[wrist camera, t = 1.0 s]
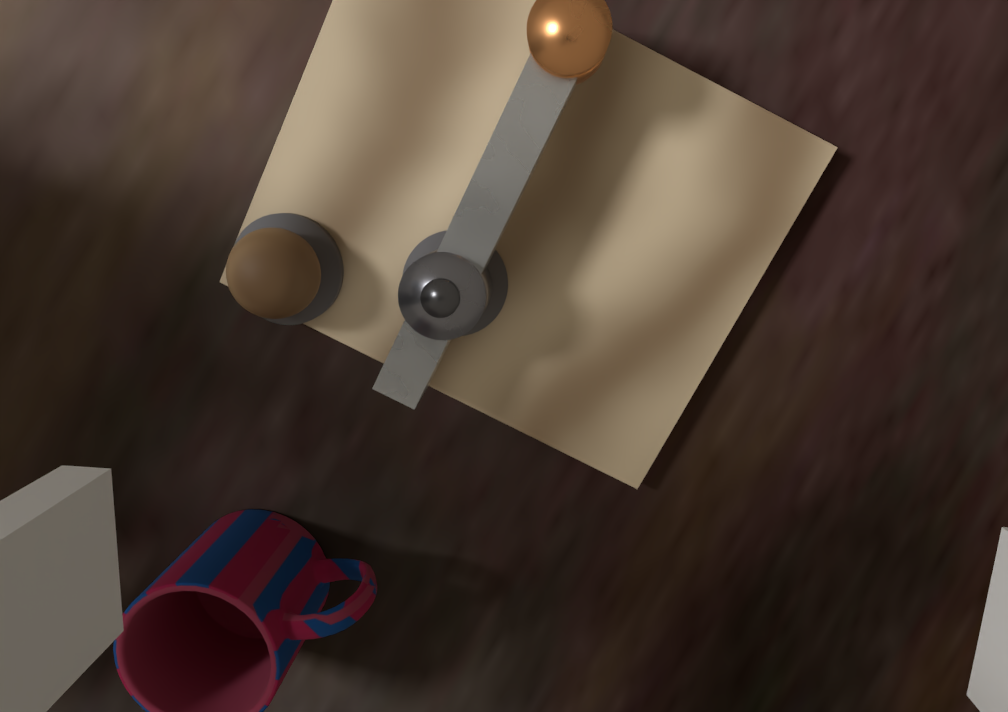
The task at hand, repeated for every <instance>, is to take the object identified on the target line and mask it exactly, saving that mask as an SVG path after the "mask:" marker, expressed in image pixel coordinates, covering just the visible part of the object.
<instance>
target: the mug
mask: <svg viewBox="0 0 1008 712" xmlns="http://www.w3.org/2000/svg"><path fill="white" fill-rule="evenodd" d="M338 580H357V581H361V584H360V586H359V588H358V589H357V591H356V592H355V593H354V594H353V595H352V596H350V597H349V598H348V599H347V600H346V601H344V602H342V603H341V604H339V605H337V606H335V607H333V608H331V609H328V610H326V611H322V612H321V610H322V608H323V606H324V605H325V602H326V600H327V597H328V594H329V587H330V582H333V581H338ZM376 595H377V582H376V577H375V573H374V571H373V570H372V568H371V566H370V565H369V564H367V563H366V562H364V561H360V560H355V559H326V557H325V555H324V553H323V551H322V549H321V547H320V546H319V544H318V543H317V541H316V540H315V538H314V537H313V536H312V535H311V534H310V533H309V532H308V531H307V530H306V529H305V528H303V527H302V526H301V525H300V524H298V523H297V522H295V521H294V520H292V519H290V518H288V517H286V516H284V515H281V514H278V513H276V512H272V511H267V510H259V509H248V510H241V511H236V512H233V513H230V514H227V515H225V516H223V517H221V518H220V519H218V520H216V521H215V522H214V523H213V524H211V525H210V526H209V527H208V528H207V529H206V530H205V531H204V532H203V533H202V534H201V535H200V536H199V537H198V538H197V539H196V540H195V541H194V542H193V543H192V544H191V545H190V546H189V547H188V548H187V549H186V550H185V551H184V552H183V553H181V554H180V555H179V556H178V557H177V558H176V559H175V560H174V561H173V562H172V563H171V564H170V565H169V566H168V567H167V568H166V569H165V570H164V571H163V572H162V573H161V574H160V575H159V576H158V577H157V578H156V579H155V580H154V581H153V582H152V583H151V584H150V585H149V586H148V587H147V588H146V589H145V590H144V591H143V592H142V593H141V594H140V595H139V596H138V597H137V598H136V599H135V600H134V601H133V602H132V603H131V604H130V605H129V606H128V608H127V609H126V610H125V611H124V613H123V614H122V616H123V629H124V631H123V632H122V633H121V634H120V635H119V636H118V637H117V638H116V639H115V640H114V645H113V652H114V660H115V665H116V668H117V671H118V674H119V677H120V679H121V681H122V683H123V685H124V686H125V688H126V690H127V691H128V692H129V694H130V695H131V696H132V698H133V699H134V700H135V701H136V702H137V703H138V704H139V705H140V706H141V707H142V708H143V709H144V710H145V711H146V712H263V711H264V710H265V709H266V708H267V707H268V706H269V704H270V702H271V701H272V699H273V697H274V696H275V694H276V692H277V690H278V688H279V686H280V685H281V683H282V681H283V679H284V677H285V676H286V674H287V672H288V670H289V668H290V666H291V665H292V663H293V661H294V659H295V657H296V656H297V654H298V652H299V650H300V648H301V646H302V645H303V643H304V641H305V639H316V638H322V637H326V636H330V635H333V634H336V633H338V632H341V631H343V630H345V629H347V628H348V627H350V626H351V625H353V624H354V623H355V622H356V621H358V620H359V619H360V618H361V617H362V616H363V615H364V614H365V613H366V612H367V610H368V609H369V608H370V606H371V605H372V603H373V602H374V600H375V597H376Z"/></svg>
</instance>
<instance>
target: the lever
mask: <svg viewBox="0 0 1008 712" xmlns="http://www.w3.org/2000/svg"><path fill="white" fill-rule="evenodd" d="M611 36H612V18H611V13H610V11H609V8H608V6H607V4H606V2H605V1H604V0H536V1H535V3H534V4H533V6H532V8H531V10H530V13H529V16H528V20H527V40H528V46H529V51H530V55H529V58H528V60H527V62H526V64H525V66H524V68H523V70H522V72H521V75H520V77H519V79H518V81H517V83H516V85H515V87H514V89H513V91H512V94H511V96H510V98H509V100H508V102H507V104H506V106H505V108H504V111H503V113H502V115H501V117H500V119H499V121H498V123H497V125H496V127H495V130H494V132H493V134H492V136H491V138H490V140H489V142H488V144H487V147H486V149H485V151H484V153H483V155H482V157H481V159H480V161H479V163H478V166H477V168H476V170H475V172H474V174H473V176H472V178H471V180H470V183H469V185H468V187H467V189H466V191H465V193H464V195H463V197H462V200H461V202H460V204H459V206H458V208H457V210H456V212H455V214H454V216H453V219H452V221H451V223H450V225H449V227H448V229H447V231H446V233H445V236H444V238H443V240H442V242H441V244H440V246H439V248H438V249H436V250H434V251H432V252H430V253H429V254H427V255H425V256H423V257H421V258H419V259H418V260H416V261H415V262H413V263H412V264H411V265H410V266H409V267H408V268H407V270H406V271H405V272H404V274H403V276H402V278H401V281H400V284H399V288H398V303H399V307H400V311H401V313H402V315H403V317H404V319H405V320H404V322H403V325H402V327H401V329H400V331H399V333H398V335H397V337H396V339H395V341H394V344H393V346H392V348H391V350H390V352H389V354H388V356H387V358H386V361H385V363H384V365H383V367H382V369H381V371H380V373H379V375H378V377H377V380H376V382H375V384H374V386H373V388H372V389H374V390H376V391H378V392H380V393H382V394H384V395H386V396H388V397H390V398H392V399H394V400H396V401H398V402H400V403H402V404H404V405H406V406H408V407H410V408H412V409H415V408H416V406H417V405H418V403H419V401H420V400H421V398H422V397H423V395H424V393H425V392H426V390H427V388H428V386H429V383H430V381H431V379H432V377H433V375H434V373H435V371H436V369H437V367H438V365H439V363H440V361H441V359H442V357H443V355H444V353H445V351H446V349H447V347H448V345H449V343H450V341H451V339H455V338H458V337H461V336H463V335H464V334H466V333H467V332H469V331H470V330H471V329H472V328H473V327H474V326H475V325H476V324H477V322H478V321H479V319H480V317H481V316H482V314H483V312H484V310H485V308H486V307H487V305H488V303H489V301H490V298H491V295H492V277H491V273H490V271H489V268H488V266H487V265H488V263H489V261H490V259H491V257H492V255H493V253H494V251H495V249H496V247H497V245H498V243H499V241H500V239H501V237H502V235H503V233H504V231H505V229H506V227H507V225H508V223H509V221H510V219H511V217H512V215H513V212H514V210H515V208H516V206H517V204H518V202H519V200H520V198H521V196H522V194H523V192H524V190H525V188H526V186H527V184H528V182H529V180H530V178H531V176H532V174H533V172H534V170H535V168H536V166H537V164H538V162H539V160H540V158H541V155H542V153H543V151H544V149H545V147H546V145H547V143H548V141H549V139H550V137H551V135H552V133H553V131H554V129H555V127H556V125H557V123H558V121H559V119H560V117H561V115H562V113H563V111H564V109H565V107H566V105H567V103H568V101H569V98H570V96H571V94H572V92H573V90H574V88H575V86H576V84H580V83H582V82H584V81H586V80H587V79H589V78H590V77H591V76H592V75H593V74H594V73H595V72H596V71H597V70H598V68H599V67H600V65H601V63H602V61H603V59H604V56H605V54H606V51H607V49H608V46H609V43H610V40H611Z"/></svg>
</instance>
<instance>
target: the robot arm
mask: <svg viewBox="0 0 1008 712" xmlns="http://www.w3.org/2000/svg"><path fill="white" fill-rule="evenodd" d="M123 631H124V629H123V616H122V603H121V590H120V577H119V564H118V551H117V538H116V525H115V512H114V499H113V486H112V473H111V469H110V468H95V467H80V466H65V465H62V466H60V467H58V468H57V469H55V470H53V471H51V472H50V473H48V474H46V475H44V476H43V477H41V478H39V479H37V480H36V481H34V482H32V483H30V484H29V485H27V486H25V487H24V488H22V489H20V490H18V491H17V492H15V493H13V494H11V495H10V496H8V497H6V498H4V499H3V500H1V501H0V712H46V711H47V710H48V709H49V708H50V707H51V706H52V705H53V704H54V703H55V702H56V701H57V700H58V699H59V698H60V697H61V696H62V695H63V694H64V693H65V691H66V690H67V689H68V688H69V687H70V686H71V685H72V684H73V683H74V682H75V681H76V680H77V679H78V678H79V677H80V676H81V675H82V674H83V673H84V672H85V671H86V670H87V668H88V667H89V666H90V665H91V664H92V663H93V662H94V661H95V660H96V659H97V658H98V657H99V656H100V655H101V654H102V653H103V652H104V651H105V650H106V649H107V648H108V647H109V645H110V644H111V643H112V642H113V641H114V640H115V639H116V638H117V637H118V636H119V635H120V634H121V633H122V632H123ZM967 696H968V697H969V698H970V700H971V701H972V702H973V703H974V705H975V706H976V707H977V708H978V709H979V711H980V712H1008V528H1007V527H1002V529H1001V534H1000V539H999V543H998V548H997V553H996V558H995V563H994V567H993V572H992V577H991V582H990V586H989V591H988V596H987V601H986V605H985V610H984V615H983V620H982V624H981V629H980V634H979V639H978V643H977V648H976V653H975V658H974V663H973V667H972V672H971V677H970V682H969V686H968V691H967Z"/></svg>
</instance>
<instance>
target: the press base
mask: <svg viewBox="0 0 1008 712" xmlns="http://www.w3.org/2000/svg"><path fill="white" fill-rule="evenodd" d="M535 1H536V0H333V1H332V4H331V6H330V9H329V11H328V14H327V16H326V19H325V21H324V24H323V26H322V29H321V31H320V34H319V36H318V39H317V41H316V44H315V46H314V49H313V51H312V54H311V56H310V58H309V61H308V63H307V66H306V68H305V71H304V73H303V76H302V78H301V81H300V83H299V86H298V88H297V91H296V93H295V96H294V98H293V101H292V103H291V106H290V108H289V111H288V113H287V116H286V118H285V120H284V123H283V125H282V128H281V130H280V133H279V135H278V138H277V140H276V143H275V145H274V148H273V150H272V153H271V155H270V158H269V160H268V163H267V165H266V168H265V170H264V173H263V175H262V177H261V180H260V182H259V185H258V187H257V190H256V192H255V195H254V197H253V200H252V202H251V205H250V207H249V210H248V212H247V215H246V217H245V220H244V222H243V225H242V227H241V230H240V232H239V235H238V237H237V239H236V242H235V244H234V247H233V249H232V250H231V252H230V255H229V257H228V260H227V264H226V267H225V269H224V272H223V274H222V277H221V279H220V283H222V284H224V285H226V286H228V287H229V289H230V291H231V293H232V295H233V297H234V298H235V300H236V301H237V302H238V303H239V304H240V305H241V306H242V307H243V308H244V309H246V310H247V311H249V312H251V313H252V314H255V315H257V316H259V317H261V318H263V319H265V320H267V321H269V322H272V323H276V324H281V325H297V324H302V323H303V324H305V325H307V326H309V327H311V328H313V329H315V330H317V331H319V332H321V333H323V334H325V335H327V336H329V337H331V338H333V339H335V340H337V341H339V342H341V343H343V344H345V345H347V346H349V347H351V348H353V349H355V350H357V351H359V352H362V353H364V354H366V355H368V356H370V357H372V358H374V359H376V360H378V361H380V362H382V363H385V361H386V358H387V356H388V354H389V352H390V350H391V348H392V346H393V344H394V341H395V339H396V337H397V335H398V333H399V331H400V329H401V327H402V325H403V322H404V320H405V319H404V317H403V315H402V313H401V311H400V307H399V303H398V288H399V284H400V281H401V278H402V276H403V274H404V272H405V271H406V270H407V268H408V267H409V266H410V265H411V264H412V263H413V262H415V261H416V260H418V259H419V258H421V257H423V256H425V255H427V254H429V253H430V252H432V251H434V250H436V249H438V248H439V246H440V244H441V242H442V240H443V238H444V236H445V233H446V231H447V229H448V227H449V225H450V223H451V221H452V219H453V216H454V214H455V212H456V210H457V208H458V206H459V204H460V202H461V200H462V197H463V195H464V193H465V191H466V189H467V187H468V185H469V183H470V180H471V178H472V176H473V174H474V172H475V170H476V168H477V166H478V163H479V161H480V159H481V157H482V155H483V153H484V151H485V149H486V147H487V144H488V142H489V140H490V138H491V136H492V134H493V132H494V130H495V127H496V125H497V123H498V121H499V119H500V117H501V115H502V113H503V111H504V108H505V106H506V104H507V102H508V100H509V98H510V96H511V94H512V91H513V89H514V87H515V85H516V83H517V81H518V79H519V77H520V75H521V72H522V70H523V68H524V66H525V64H526V62H527V60H528V58H529V55H530V51H529V46H528V40H527V20H528V16H529V13H530V10H531V8H532V6H533V4H534V3H535ZM837 148H838V147H836V146H834V145H832V144H830V143H828V142H826V141H824V140H823V139H821V138H819V137H817V136H815V135H813V134H811V133H809V132H807V131H805V130H803V129H802V128H800V127H798V126H796V125H794V124H792V123H790V122H788V121H786V120H784V119H782V118H781V117H779V116H777V115H775V114H773V113H771V112H769V111H767V110H765V109H763V108H761V107H760V106H758V105H756V104H754V103H752V102H750V101H748V100H746V99H744V98H742V97H741V96H739V95H737V94H735V93H733V92H731V91H729V90H727V89H725V88H723V87H721V86H720V85H718V84H716V83H714V82H712V81H710V80H708V79H706V78H704V77H702V76H700V75H699V74H697V73H695V72H693V71H691V70H689V69H687V68H685V67H683V66H681V65H679V64H678V63H676V62H674V61H672V60H670V59H668V58H666V57H664V56H662V55H660V54H659V53H657V52H655V51H653V50H651V49H649V48H647V47H645V46H643V45H641V44H639V43H638V42H636V41H634V40H632V39H630V38H628V37H626V36H624V35H622V34H620V33H618V32H617V31H615V30H613V29H612V36H611V40H610V43H609V46H608V49H607V51H606V54H605V56H604V59H603V61H602V63H601V65H600V67H599V68H598V70H597V71H596V72H595V73H594V74H593V75H592V76H591V77H590V78H589V79H587V80H586V81H584V82H582V83H580V84H576V86H575V88H574V90H573V92H572V94H571V96H570V98H569V101H568V103H567V105H566V107H565V109H564V111H563V113H562V115H561V117H560V119H559V121H558V123H557V125H556V127H555V129H554V131H553V133H552V135H551V137H550V139H549V141H548V143H547V145H546V147H545V149H544V151H543V153H542V155H541V158H540V160H539V162H538V164H537V166H536V168H535V170H534V172H533V174H532V176H531V178H530V180H529V182H528V184H527V186H526V188H525V190H524V192H523V194H522V196H521V198H520V200H519V202H518V204H517V206H516V208H515V210H514V212H513V215H512V217H511V219H510V221H509V223H508V225H507V227H506V229H505V231H504V233H503V235H502V237H501V239H500V241H499V243H498V245H497V247H496V249H495V251H494V253H493V255H492V257H491V259H490V261H489V263H488V265H487V266H488V268H489V271H490V273H491V277H492V295H491V298H490V301H489V303H488V305H487V307H486V308H485V310H484V312H483V314H482V316H481V317H480V319H479V321H478V322H477V324H476V325H475V326H474V327H473V328H472V329H471V330H470V331H469V332H467V333H466V334H464V335H463V336H461V337H458V338H455V339H451V341H450V343H449V345H448V347H447V349H446V351H445V353H444V355H443V357H442V359H441V361H440V363H439V365H438V367H437V369H436V371H435V373H434V375H433V377H432V379H431V381H430V383H429V386H430V387H432V388H434V389H436V390H438V391H440V392H442V393H444V394H446V395H448V396H450V397H452V398H454V399H456V400H458V401H460V402H462V403H464V404H466V405H468V406H470V407H472V408H474V409H476V410H479V411H481V412H483V413H485V414H487V415H489V416H491V417H493V418H495V419H497V420H499V421H501V422H503V423H505V424H507V425H509V426H511V427H513V428H515V429H517V430H519V431H521V432H523V433H525V434H527V435H529V436H531V437H533V438H535V439H537V440H539V441H541V442H543V443H545V444H547V445H549V446H551V447H553V448H555V449H557V450H559V451H561V452H563V453H565V454H567V455H569V456H571V457H573V458H575V459H577V460H579V461H581V462H583V463H585V464H587V465H589V466H591V467H594V468H596V469H598V470H600V471H602V472H604V473H606V474H608V475H610V476H612V477H614V478H616V479H618V480H620V481H622V482H624V483H626V484H628V485H630V486H632V487H634V488H636V489H638V487H639V486H640V484H641V482H642V481H643V479H644V477H645V476H646V474H647V472H648V470H649V469H650V467H651V465H652V464H653V462H654V460H655V458H656V457H657V455H658V453H659V452H660V450H661V448H662V447H663V445H664V443H665V441H666V440H667V438H668V436H669V435H670V433H671V431H672V429H673V428H674V426H675V424H676V423H677V421H678V419H679V417H680V416H681V414H682V412H683V411H684V409H685V407H686V406H687V404H688V402H689V400H690V399H691V397H692V395H693V394H694V392H695V390H696V388H697V387H698V385H699V383H700V382H701V380H702V378H703V377H704V375H705V373H706V371H707V370H708V368H709V366H710V365H711V363H712V361H713V359H714V358H715V356H716V354H717V353H718V351H719V349H720V347H721V346H722V344H723V342H724V341H725V339H726V337H727V336H728V334H729V332H730V330H731V329H732V327H733V325H734V324H735V322H736V320H737V318H738V317H739V315H740V313H741V312H742V310H743V308H744V307H745V305H746V303H747V301H748V300H749V298H750V296H751V295H752V293H753V291H754V289H755V288H756V286H757V284H758V283H759V281H760V279H761V277H762V276H763V274H764V272H765V271H766V269H767V267H768V266H769V264H770V262H771V260H772V259H773V257H774V255H775V254H776V252H777V250H778V248H779V247H780V245H781V243H782V242H783V240H784V238H785V237H786V235H787V233H788V231H789V230H790V228H791V226H792V225H793V223H794V221H795V219H796V218H797V216H798V214H799V213H800V211H801V209H802V207H803V206H804V204H805V202H806V201H807V199H808V197H809V196H810V194H811V192H812V190H813V189H814V187H815V185H816V184H817V182H818V180H819V178H820V177H821V175H822V173H823V172H824V170H825V168H826V167H827V165H828V163H829V161H830V160H831V158H832V156H833V155H834V153H835V151H836V149H837Z"/></svg>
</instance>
